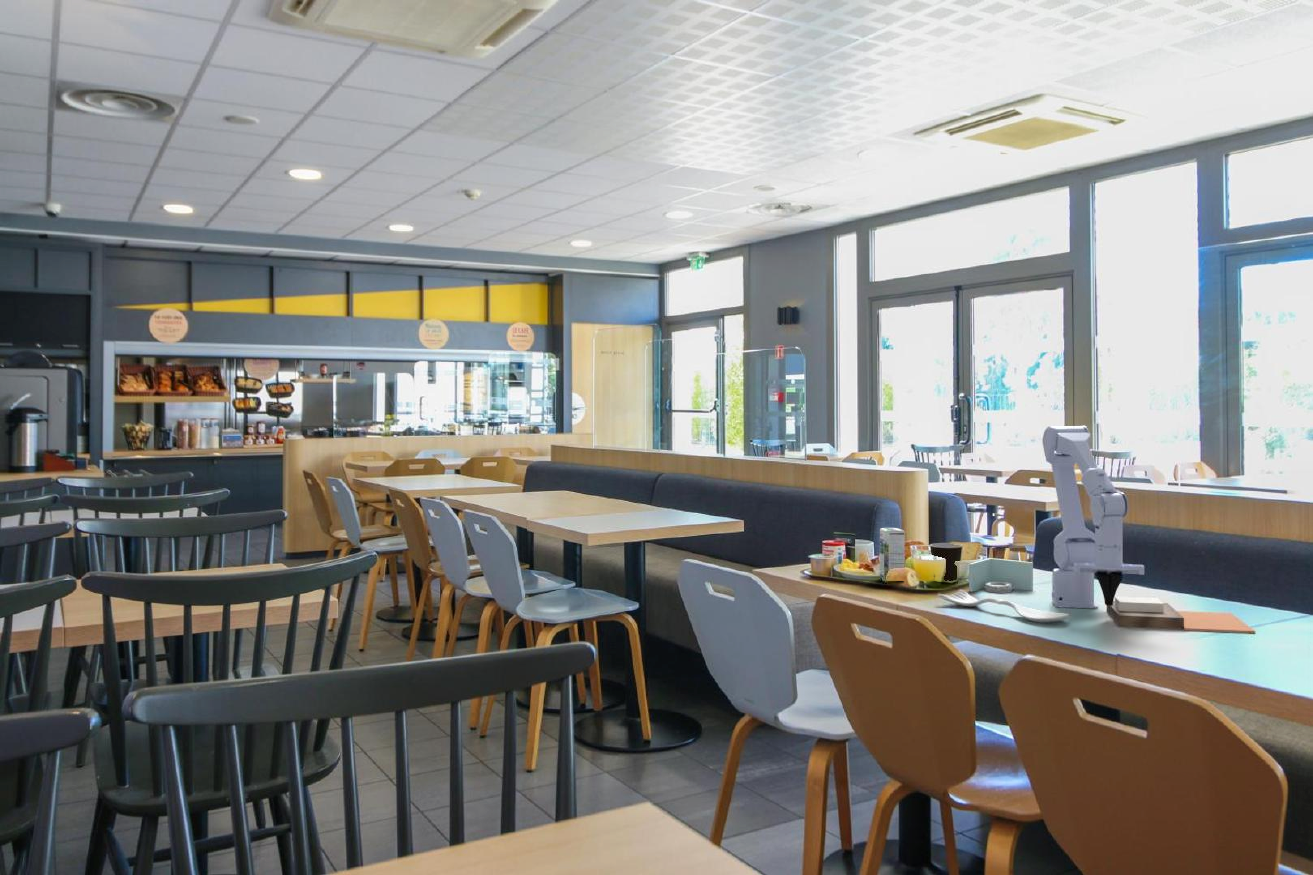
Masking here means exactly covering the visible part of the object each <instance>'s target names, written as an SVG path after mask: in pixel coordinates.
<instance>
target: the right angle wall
mask: <svg viewBox="0 0 1313 875" xmlns="http://www.w3.org/2000/svg"><path fill="white" fill-rule="evenodd" d="M981 589H984V591H986V592H989V593H996V594H997V593H999V594H1001V593H1002V594H1007V593H1008V594H1009V593H1011V592H1012V590H1013V589H1015V590H1022V591H1024V590H1025V591H1034V562H1032V561H1031V562H1030V561H1024V560H1023V561H1022V560H1012V559H1006V558H1005V559H1003V558H995V557H994V558H993V557H988V558H985V559H980V560H978V561H974V562H971V563H968V591H969V592H971V593H973V592H976V591H979V590H981Z"/></svg>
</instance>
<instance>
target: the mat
mask: <svg viewBox="0 0 1313 875" xmlns="http://www.w3.org/2000/svg"><path fill="white" fill-rule="evenodd" d="M1176 611H1177V612H1178V613H1179V614H1180V615H1181V616H1182V617H1183V618H1184V629H1183V630H1184V631H1186V632H1187V631H1191V632H1192V631H1193V632H1211V633H1213V632H1214V633H1237V634H1238V633H1239V634H1256V630H1255V629H1253V628H1252V627H1251V626H1249V625H1248V624H1246V622H1244V621H1242V620H1241V619H1239V618H1238V616H1236V615H1234V614H1232V613H1231V612H1214V611H1213V612H1212V611H1211V612H1210V611H1188V610H1187V611H1185V610H1184V611H1183V610H1181V611H1180V610H1176Z"/></svg>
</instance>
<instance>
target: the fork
mask: <svg viewBox="0 0 1313 875" xmlns="http://www.w3.org/2000/svg"><path fill="white" fill-rule="evenodd" d="M937 597H938V598H940V599H942V600H945V601H947V602H950V603H953V604H957V605H960V606H963V607H975V606H980V605H982V604H985V603H993V604H998V605H1003V606H1004V605H1005V606H1008V607H1011V608H1013V609H1014V610H1015V611H1016V613H1017V614H1018V615H1019V616H1021V617H1023V618H1024V619H1026V620H1029V621H1031V622H1036V623H1041V622H1042V623H1054V622H1059V621H1063V620H1067V619H1068V618H1069V617H1070V613H1069V614H1068V613H1065V612H1064V613H1063V612H1052V611H1046V610H1042V609H1041V610H1040V609H1035V608H1030V607H1026V606H1023V605H1019V604H1016V603H1014V602H1012V601H1009V600H1007V599H1003V598H1002V599H1000V598H995V597H986V598H982V599H980V600H978V599H977V598H975V597H974V596H972V595H970V594H969V593H968V592H966V591H965V590H963V589H959V590H958V591H956V593H955V592H954V593H953V594H950V595H948V594H942V593H938V594H937ZM1042 623H1041V624H1042Z"/></svg>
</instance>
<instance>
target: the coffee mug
mask: <svg viewBox="0 0 1313 875" xmlns="http://www.w3.org/2000/svg"><path fill="white" fill-rule="evenodd" d="M954 544H955V543H951V542H949V543H948V542H939V543H936V542H935V543H931V544H930V545H929V548H930V549H929V550H930V555H931V554H932V555H934V556H938V557H942V558H945V559H946V573H945V576H944V580H945V581H947V580H949V581H953V580H956V579H957V566H956V565H955V564H954V563H955V561H961V560H962V552H963V544H960V545H954ZM961 562H962V561H961Z"/></svg>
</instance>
